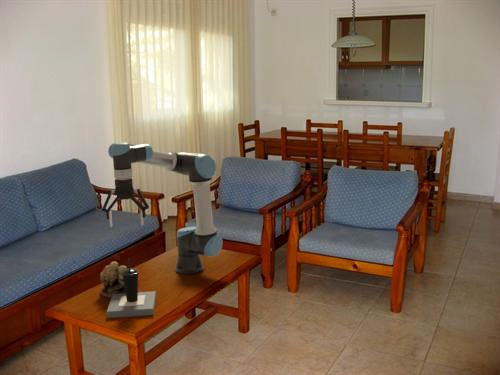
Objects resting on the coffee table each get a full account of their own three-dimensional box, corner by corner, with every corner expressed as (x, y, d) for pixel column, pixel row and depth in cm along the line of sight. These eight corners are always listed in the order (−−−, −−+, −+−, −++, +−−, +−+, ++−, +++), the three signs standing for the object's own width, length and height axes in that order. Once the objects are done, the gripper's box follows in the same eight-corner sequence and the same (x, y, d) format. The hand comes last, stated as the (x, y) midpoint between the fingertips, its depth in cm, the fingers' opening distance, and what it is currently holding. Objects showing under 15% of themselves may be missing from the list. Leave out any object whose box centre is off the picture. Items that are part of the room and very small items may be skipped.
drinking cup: (120, 300, 252) (117, 258, 248) (135, 295, 256) (132, 254, 252) (128, 305, 246) (125, 262, 242) (143, 300, 251) (140, 258, 247)
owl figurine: (139, 291, 270) (137, 258, 267) (127, 301, 259) (124, 267, 256) (107, 287, 276) (105, 255, 272) (94, 297, 265) (91, 263, 261)
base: (156, 297, 263) (155, 290, 262) (153, 314, 243) (152, 307, 242) (113, 299, 261) (112, 293, 260) (107, 318, 241) (106, 311, 240)
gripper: (92, 181, 235) (96, 229, 239) (151, 178, 238) (154, 226, 242) (95, 178, 242) (99, 224, 247) (152, 175, 245) (155, 221, 249)
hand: (126, 225), depth 244 cm, fingers open, 13 cm apart
